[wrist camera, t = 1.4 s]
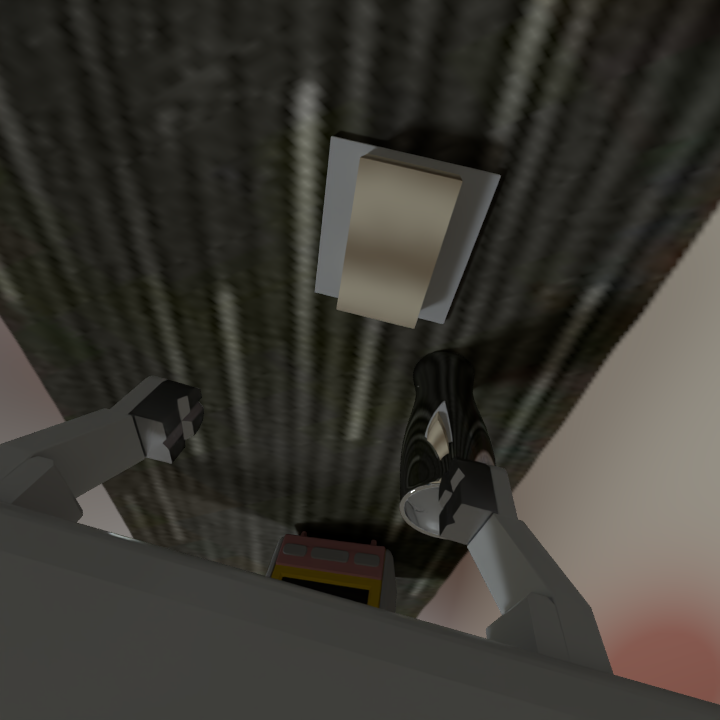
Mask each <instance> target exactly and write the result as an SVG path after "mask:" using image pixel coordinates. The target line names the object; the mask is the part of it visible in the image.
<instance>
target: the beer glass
mask: <svg viewBox="0 0 720 720" xmlns="http://www.w3.org/2000/svg"><path fill="white" fill-rule="evenodd" d="M474 378H475V374H474V369H473V367H472V365H471V363H470V362H469V361H468V360H467V359H466V358H464V357H463V356H461V355H459V354H457V353H453V352H447V351H441V352H434V353H431V354H429V355H427V356H425V357H423V358H422V359H421V360H420V361H419V362H418V363H417V364H416V366H415V368H414V371H413V381H414V386H415V391H416V398H415V402H414V406H413V409H412V412H411V415H410V418H409V421H408V424H407V427H406V431H405V435H404V439H403V444H402V451H401V462H400V505H399V509H400V513H401V516H402V517H403V519H404V520H405V521H406V522H407V523H408V524H409V525H410V526H411V527H413V528H414V529H416V530H418V531H420V532H422V533H424V534H427V535H429V536H433V537H437V538H441V539H445V538H442V537H439V514H440V513H441V511H442V509H443V508H442V506H441V505H440V503H439V486H440V482H441V478H442V476H443V474H444V472H446V471H448V470H450V462H451V460H452V458H453V457H455V456H458V457H462V458H466V459H470V460H474V461H477V462H481V463H485V464H489V465H493V466H496V461H495V456H494V451H493V447H492V443H491V440H490V437H489V434H488V432H487V429H486V426H485V424H484V422H483V419H482V417H481V415H480V412H479V410H478V408H477V405H476V403H475V400H474V396H473V385H474Z"/></svg>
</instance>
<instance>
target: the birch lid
mask: <svg viewBox="0 0 720 720" xmlns="http://www.w3.org/2000/svg"><path fill="white" fill-rule="evenodd" d="M462 182H463V181H462V178H461V176H460V175H458V174H454V173H450V172H446V171H441V170H437V169H433V168H428V167H424V166H420V165H415V164H411V163H407V162H403V161H398V160H394V159H390V158H385V157H381V156H377V155H372V154H368V153H367V154H365V155H363V156H361V157H360V161H359V167H358V174H357V180H356V187H355V193H354V200H353V206H352V213H351V219H350V226H349V232H348V239H347V245H346V251H345V258H344V264H343V271H342V277H341V284H340V290H339V297H338V303H337V310H341V311H345V312H349V313H353V314H357V315H361V316H365V317H369V318H373V319H377V320H381V321H385V322H389V323H393V324H397V325H401V326H405V327H409V328H413V329H414V328H415V325H416V322H417V319H418V316H419V313H420V310H421V307H422V303H423V300H424V297H425V294H426V291H427V288H428V285H429V282H430V279H431V276H432V273H433V270H434V267H435V264H436V261H437V258H438V255H439V252H440V249H441V246H442V243H443V240H444V237H445V234H446V231H447V228H448V225H449V221H450V218H451V215H452V212H453V209H454V206H455V203H456V200H457V197H458V194H459V191H460V188H461V185H462Z"/></svg>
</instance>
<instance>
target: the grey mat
mask: <svg viewBox="0 0 720 720" xmlns="http://www.w3.org/2000/svg"><path fill="white" fill-rule="evenodd" d="M367 153H368V154H372V155H377V156H381V157H385V158H390V159H394V160H398V161H403V162H407V163H411V164H415V165H420V166H424V167H428V168H433V169H437V170H441V171H446V172H450V173H454V174H458V175H460V176H461V178H462V181H463V182H462V185H461V188H460V191H459V194H458V197H457V200H456V203H455V206H454V209H453V212H452V215H451V218H450V221H449V225H448V228H447V231H446V234H445V237H444V240H443V243H442V246H441V249H440V252H439V255H438V258H437V261H436V264H435V267H434V270H433V273H432V276H431V279H430V282H429V285H428V288H427V291H426V294H425V297H424V300H423V303H422V307H421V310H420V313H419V316H418V318H421V319H425V320H429V321H433V322H437V323H441V324H444V321H445V319H446V316H447V313H448V311H449V308H450V306H451V303H452V301H453V298H454V295H455V293H456V290H457V288H458V285H459V282H460V280H461V277H462V275H463V272H464V270H465V267H466V264H467V262H468V259H469V257H470V254H471V252H472V249H473V246H474V244H475V241H476V239H477V236H478V234H479V231H480V228H481V226H482V223H483V221H484V218H485V216H486V213H487V210H488V208H489V205H490V203H491V200H492V198H493V195H494V192H495V190H496V187H497V185H498V182H499V180H500V177H501V175H500V174H495V173H491V172H487V171H482V170H478V169H474V168H469V167H465V166H461V165H457V164H452V163H448V162H444V161H439V160H435V159H431V158H426V157H422V156H418V155H413V154H409V153H405V152H400V151H396V150H392V149H387V148H383V147H379V146H374V145H370V144H366V143H361V142H357V141H353V140H348V139H344V138H340V137H336V136H331V144H330V153H329V163H328V172H327V182H326V191H325V201H324V210H323V219H322V229H321V238H320V248H319V257H318V267H317V276H316V286H315V292H317V293H321V294H325V295H329V296H333V297H337V298H338V297H339V290H340V284H341V277H342V271H343V264H344V258H345V251H346V245H347V239H348V232H349V226H350V219H351V213H352V206H353V200H354V193H355V187H356V180H357V174H358V167H359V161H360V157H361V156H363V155H365V154H367Z"/></svg>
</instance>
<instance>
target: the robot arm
mask: <svg viewBox="0 0 720 720" xmlns="http://www.w3.org/2000/svg"><path fill="white" fill-rule="evenodd" d="M201 398H202V394H201V390H200V389H198V388H195V387H192V386H189V385H185V384H182V383H178V382H175V381H171V380H167V379H164V378H160V377H157V376H150V377H147V378H146V379H145V380H143V381H142V382H141V383H140V384H139V385H138V386H136V387H135V388H134V389H133V390H132V391H131V392H129V393H128V394H127V395H126V396H125V397H124V398H123V399H121V400H120V401H119V402H118V403H117V404H116V405H114V406H113V407H112V408H111V409H102V410H99V411H96V412H93V413H90V414H87V415H84V416H81V417H78V418H75V419H72V420H69V421H67V422H64V423H61V424H58V425H55V426H52V427H49V428H47V429H43V430H40V431H37V432H34V433H32V434H29V435H26V436H23V437H20V438H17V439H14V440H11V441H8V442H5V443H3V444H0V720H720V705H719V704H715V703H712V702H708V701H704V700H701V699H697V698H694V697H690V696H687V695H683V694H679V693H676V692H673V691H669V690H666V689H662V688H659V687H655V686H651V685H648V684H645V683H641V682H638V681H634V680H630V679H627V678H623V677H620V676H616V675H614V674H613V671H612V668H611V666H610V662H609V659H608V656H607V654H606V651H605V648H604V645H603V642H602V639H601V636H600V633H599V630H598V627H597V624H596V621H595V618H594V615H593V612H592V609H591V607H590V606H589V605H588V603H587V602H586V601H585V599H584V598H583V597H582V596H581V594H580V593H579V592H578V590H577V589H576V588H575V587H574V585H573V584H572V583H571V582H570V580H569V579H568V578H567V577H566V575H565V574H564V573H563V571H562V570H561V569H560V568H559V566H558V565H557V564H556V562H555V561H554V560H553V559H552V557H551V556H550V555H549V554H548V552H547V551H546V550H545V549H544V547H543V546H542V545H541V543H540V542H539V541H538V540H537V538H536V537H535V536H534V534H533V533H532V532H531V531H530V529H529V528H528V527H527V526H526V524H525V523H524V522H523V521H521V520H518V518H517V513H516V509H515V505H514V501H513V496H512V492H511V488H510V484H509V479H508V475H507V472H506V470H505V469H504V468H500V467H496V466H493V465H489V464H485V463H481V462H477V461H474V460H470V459H466V458H462V457H458V456H455V457H453V458H452V460H451V462H450V470H448V471H446V472H444V474H443V476H442V478H441V482H440V486H439V503H440V505H441V506H442V508H443V509H442V511H441V513H440V514H439V537H442V538H445V539H449V540H452V541H455V542H458V543H462V544H465V545H468V546H467V548H468V550H469V552H470V553H471V555H472V557H473V559H474V561H475V563H476V565H477V567H478V569H479V571H480V573H481V575H482V577H483V579H484V580H485V582H486V584H487V586H488V588H489V590H490V592H491V594H492V596H493V598H494V600H495V602H496V604H497V606H498V608H499V610H500V612H501V614H502V616H501V617H500V618H498V619H497V620H496V621H494V622H493V623H492V624H491V625H490V626H489V627H487V628H486V635H487V639H486V638H482V637H479V636H475V635H472V634H468V633H464V632H461V631H457V630H454V629H451V628H447V627H443V626H440V625H436V624H433V623H429V622H425V621H422V620H419V619H415V618H412V617H408V616H405V615H401V614H398V613H394V612H391V611H387V610H383V609H380V608H376V607H373V606H369V605H366V604H362V603H359V602H355V601H352V600H348V599H345V598H341V597H338V596H334V595H331V594H327V593H324V592H320V591H316V590H313V589H309V588H306V587H302V586H299V585H295V584H292V583H288V582H285V581H281V580H278V579H274V578H271V577H267V576H264V575H260V574H256V573H253V572H249V571H246V570H242V569H239V568H235V567H232V566H228V565H225V564H221V563H218V562H214V561H211V560H207V559H204V558H200V557H196V556H193V555H189V554H186V553H182V552H179V551H175V550H172V549H168V548H165V547H161V546H158V545H154V544H151V543H147V542H143V541H140V540H136V539H133V538H129V537H125V536H122V535H119V534H115V533H112V532H108V531H104V530H101V529H97V528H93V527H90V526H87V525H83V524H79V523H77V521H78V520H79V519H80V518H81V517H82V516H83V510H82V509H81V507H80V505H79V503H78V502H77V500H76V498H77V497H79V496H80V495H82V494H84V493H86V492H87V491H89V490H91V489H92V488H94V487H96V486H98V485H100V484H101V483H103V482H105V481H107V480H108V479H110V478H112V477H114V476H115V475H117V474H119V473H121V472H122V471H124V470H126V469H128V468H130V467H131V466H133V465H135V464H137V463H138V462H140V461H142V460H144V459H145V457H147V458H151V459H155V460H159V461H164V462H168V463H173V462H174V461H175V459H176V458H177V457H178V456H179V454H180V453H181V452H182V451H183V449H184V448H185V447H186V446H185V440H186V439H188V438H190V437H192V436H194V435H195V434H196V432H197V431H198V430H199V428H200V426H201V424H202V421H203V417H204V408H203V406H202V405H201V404H200V403H199V401H200V399H201Z"/></svg>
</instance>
